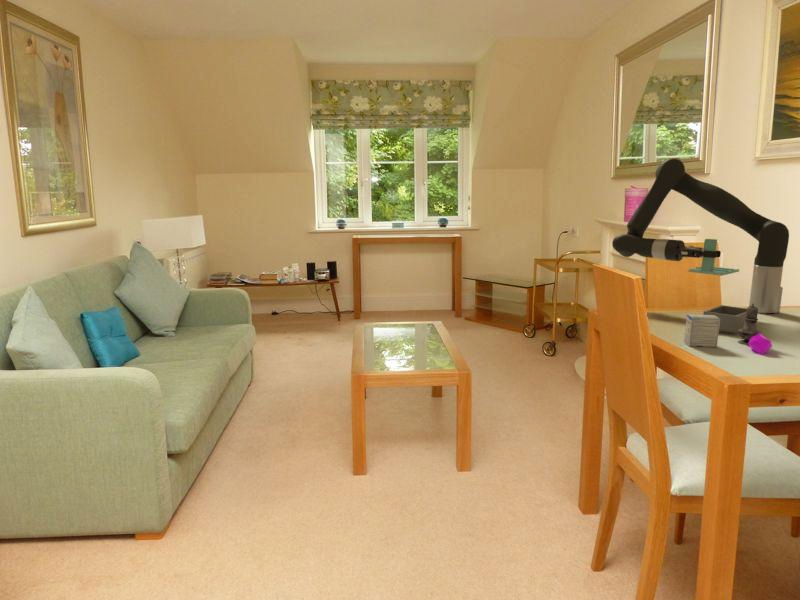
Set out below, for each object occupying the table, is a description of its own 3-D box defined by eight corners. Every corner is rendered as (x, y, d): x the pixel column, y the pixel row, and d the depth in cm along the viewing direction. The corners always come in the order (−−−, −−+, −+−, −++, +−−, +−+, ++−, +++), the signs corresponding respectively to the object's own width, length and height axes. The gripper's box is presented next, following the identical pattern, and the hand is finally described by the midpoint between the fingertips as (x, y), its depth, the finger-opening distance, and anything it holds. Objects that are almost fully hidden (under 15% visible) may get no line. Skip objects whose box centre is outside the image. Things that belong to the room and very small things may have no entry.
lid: (707, 267, 230) (710, 236, 227) (738, 271, 222) (743, 238, 220) (688, 271, 218) (692, 238, 216) (721, 275, 210) (725, 241, 208)
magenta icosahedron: (744, 350, 176) (746, 334, 175) (758, 348, 177) (760, 333, 176) (760, 354, 171) (763, 338, 170) (775, 353, 173) (777, 337, 172)
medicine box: (711, 343, 182) (714, 315, 180) (717, 347, 177) (720, 318, 176) (683, 342, 182) (686, 314, 181) (688, 346, 178) (691, 317, 176)
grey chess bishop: (752, 346, 179) (757, 305, 177) (732, 342, 184) (737, 302, 182) (763, 344, 182) (768, 304, 180) (743, 339, 187) (748, 300, 185)
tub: (720, 322, 210) (721, 305, 209) (752, 327, 203) (754, 309, 202) (701, 329, 199) (703, 311, 198) (735, 335, 192) (737, 316, 191)
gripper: (660, 240, 219) (711, 244, 207) (677, 238, 228) (727, 242, 216) (658, 261, 220) (709, 267, 208) (674, 258, 230) (724, 263, 218)
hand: (717, 254), depth 212 cm, fingers closed on lid, 3 cm apart
